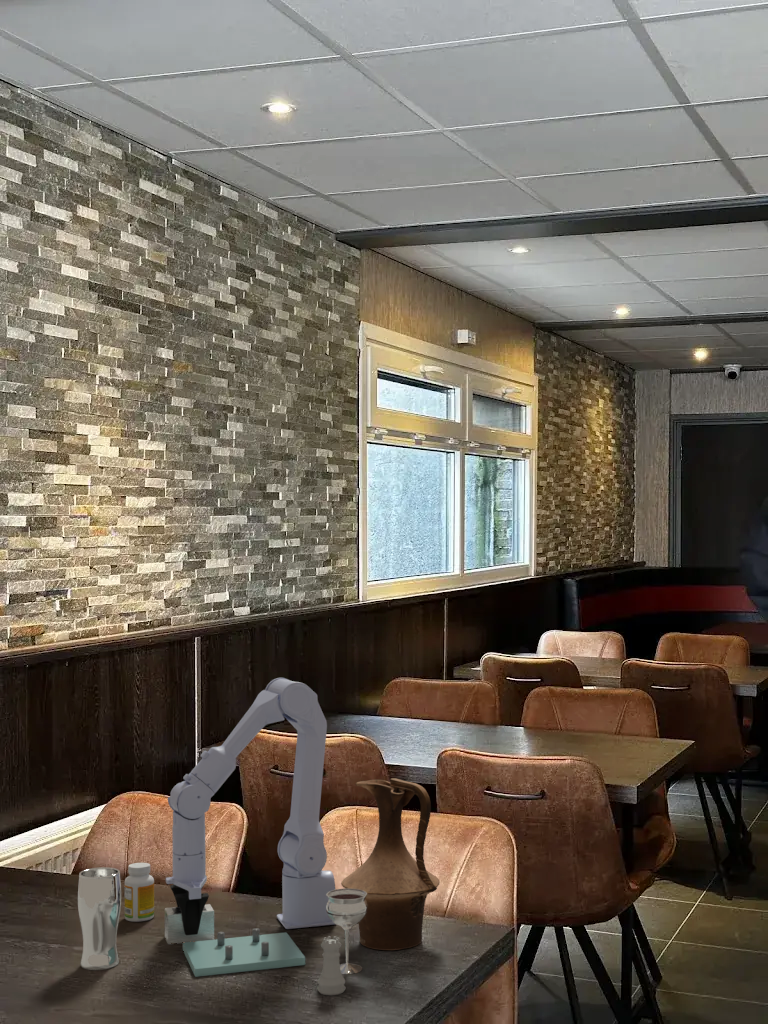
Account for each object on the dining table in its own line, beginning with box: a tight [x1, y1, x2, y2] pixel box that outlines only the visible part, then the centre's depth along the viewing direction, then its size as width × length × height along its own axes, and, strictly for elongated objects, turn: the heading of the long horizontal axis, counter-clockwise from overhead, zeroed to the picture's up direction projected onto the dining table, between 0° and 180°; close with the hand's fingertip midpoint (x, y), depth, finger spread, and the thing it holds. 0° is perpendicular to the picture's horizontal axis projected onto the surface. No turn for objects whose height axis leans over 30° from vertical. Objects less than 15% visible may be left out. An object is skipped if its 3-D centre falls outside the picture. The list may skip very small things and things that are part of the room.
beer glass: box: [77, 866, 122, 971], centre depth 206 cm, size 7×7×15 cm
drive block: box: [164, 903, 215, 945], centre depth 219 cm, size 8×4×5 cm, turn 107°
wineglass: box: [326, 888, 368, 975], centre depth 203 cm, size 7×7×12 cm
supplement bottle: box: [124, 862, 155, 923], centre depth 232 cm, size 5×5×10 cm
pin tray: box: [182, 927, 306, 978], centre depth 209 cm, size 18×14×3 cm
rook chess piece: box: [316, 935, 347, 997], centre depth 193 cm, size 4×4×8 cm
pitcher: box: [340, 777, 441, 951], centre depth 217 cm, size 18×17×28 cm
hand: (189, 930), depth 219 cm, fingers closed on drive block, 4 cm apart
